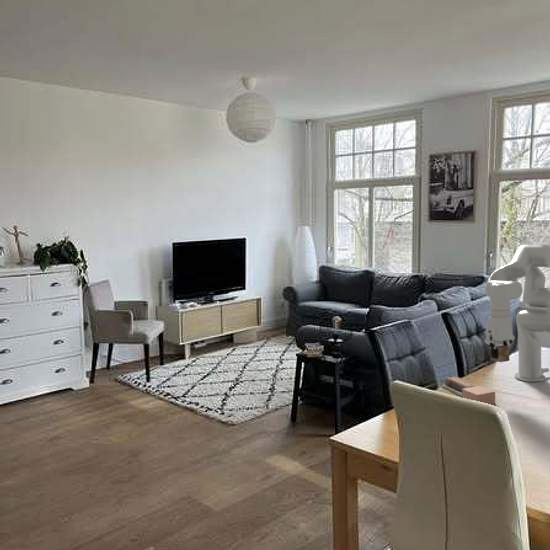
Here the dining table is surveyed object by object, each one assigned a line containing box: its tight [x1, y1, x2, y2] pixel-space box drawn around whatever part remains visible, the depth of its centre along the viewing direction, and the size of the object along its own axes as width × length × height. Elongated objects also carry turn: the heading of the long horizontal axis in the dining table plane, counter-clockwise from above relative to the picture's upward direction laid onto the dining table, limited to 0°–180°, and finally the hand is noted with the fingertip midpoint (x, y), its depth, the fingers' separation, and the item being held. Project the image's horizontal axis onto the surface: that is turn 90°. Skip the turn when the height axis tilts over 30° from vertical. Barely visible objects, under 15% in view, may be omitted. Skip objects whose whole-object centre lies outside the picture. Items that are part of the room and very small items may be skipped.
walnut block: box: [490, 343, 510, 363], centre depth 225 cm, size 5×5×6 cm
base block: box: [461, 385, 496, 405], centre depth 224 cm, size 9×9×5 cm
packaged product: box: [441, 376, 477, 397], centre depth 239 cm, size 18×5×10 cm
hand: (499, 356), depth 225 cm, fingers closed on walnut block, 5 cm apart
